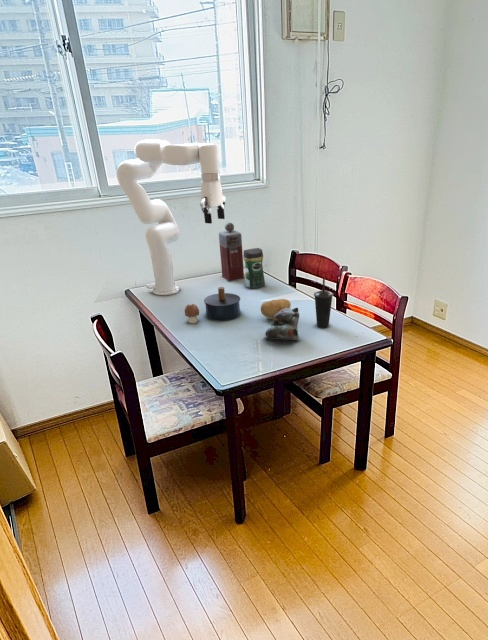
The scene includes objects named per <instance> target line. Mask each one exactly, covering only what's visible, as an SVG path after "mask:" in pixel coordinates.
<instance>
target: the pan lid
mask: <svg viewBox="0 0 488 640" xmlns="http://www.w3.org/2000/svg"><path fill="white" fill-rule="evenodd" d="M217 292H218V293H214V294H210V295H208V296H206V297H205V298H204V299H203V303H204V304H207V305H209V306H215V307H224V306H230V305H234V304H236V303H238V302H239V303H240V301H241V297H240V295H237V294H235V293H230V292H229V293H228V292H225V287H223V286H219V287H218V288H217Z"/></svg>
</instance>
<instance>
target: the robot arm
mask: <svg viewBox="0 0 488 640" xmlns="http://www.w3.org/2000/svg"><path fill="white" fill-rule="evenodd" d="M134 154H135V156H136V158H134V159H133V158H132V159H128V160H124V161H122V162H120V163H119V164H118V167H117V169H116V178H117V181H118V184H119V186H120V188H121V190H122V191H123V192H124V194H125V195H126V196H127V198H128V200H129V203H130V204H131V206H132V208H133V210H134V212H135V214H136V216H137V218H138V219H139V221H140V222H141V223H142V224H143V225H151V224H153V225H151V226H150V227H148V228H147V229H146V231H145V240H146V243H147V246H148V249H149V253H150V260H151V265H152V271H153V272H152V273H153V277H154V282H153V283H146V286H145V287H146V288H147V289H149V290H152V289H153V291H152V292H153V294H155V295H157V296H171V295H175V294H177V293H179V291H180V287H179V286H178V285H176V280H175V279H176V278H175V273H174V264H173V257H172V254H171V251H170V249H169V248H168V246H167V245H169V244H173V243H174V242H176V241H178V240H179V238H180V234H181V233H180V232H181V231H180V228H179V225H178V223H177V221H176V219H175V217H174V216H173V214H172V212H171V209H170V208H169V206H168V205H167V204H166V202H165V201H163V200H162V199H158V198H157V199H152V200H151V199H150V197H149V195H148V193H147V190H146V189H145V188H144V187H143V185H141V184H139V183H138V182H137V181H141V180H146V179H150V178H152V177H153V176H155V174H156V173H157V171H158V170H159V168H160V167H161V165H162V164H166V165H171V166H189V165H195V164H199V167H200V176H201V182H200V201H201V202H199V206H200V208H201V211H202V213H203V217H204V223H205V224H213V220H212V219H213V218H212V213H211V211H212V209H214V208H217V209H216V212H217V219H218V220H225V219H226V218H225V217H226V216H225V205H226V196H225V195H224V194H223V189H222V183H221V182H222V181H221V175H220V174H221V173H220V164H219V152H218V145H216V144H215V143H201V142H191V143H189V142H188V143H182V144H171V143H170V142H169V141H167V140H161V139H157V138H154V139H153V138H152V139H143V140H140V141H138V142H137V143H136V144H135V147H134ZM154 223H157V224H154Z"/></svg>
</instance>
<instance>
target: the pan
mask: <svg viewBox="0 0 488 640" xmlns="http://www.w3.org/2000/svg"><path fill="white" fill-rule="evenodd" d="M204 304H205V303H204ZM240 304H241V303H240V301H239V302H238V303H236V304H234V305H230V306H224V307H215V306H209V305H207V304H205V313H206V318H208V319H210V320H211V321H216V322H217V321H218V322H224V321H225V322H227V321H232V320H235V319H237V318H239V317H240V315H241V305H240Z"/></svg>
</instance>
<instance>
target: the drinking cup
mask: <svg viewBox="0 0 488 640" xmlns="http://www.w3.org/2000/svg"><path fill="white" fill-rule="evenodd" d="M325 281H326V278H325V277H323V278H322V290H318V291H315V292H314V293H313V296H314V304H315V318H316V327H317V328H319V329H327V328H328V327H329V326H330V319H331V318H330V317H331V312H332V311H331V309H332V303H333V296H334V293H333V292H331V291H330V290H326V288H325V286H326V285H325V284H326V282H325Z"/></svg>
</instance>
